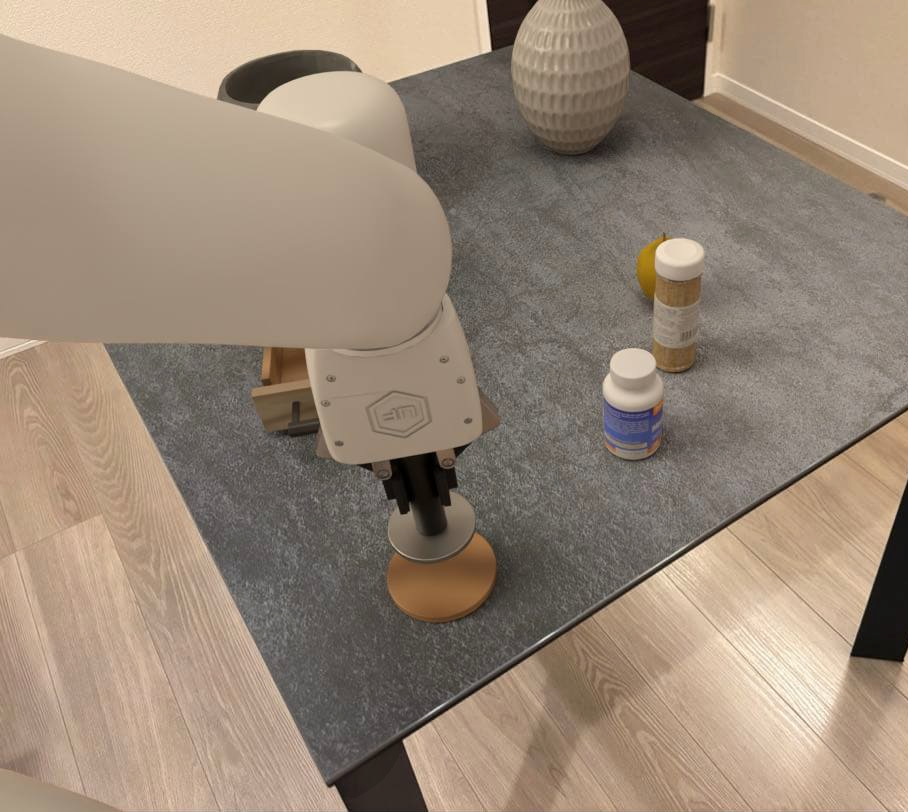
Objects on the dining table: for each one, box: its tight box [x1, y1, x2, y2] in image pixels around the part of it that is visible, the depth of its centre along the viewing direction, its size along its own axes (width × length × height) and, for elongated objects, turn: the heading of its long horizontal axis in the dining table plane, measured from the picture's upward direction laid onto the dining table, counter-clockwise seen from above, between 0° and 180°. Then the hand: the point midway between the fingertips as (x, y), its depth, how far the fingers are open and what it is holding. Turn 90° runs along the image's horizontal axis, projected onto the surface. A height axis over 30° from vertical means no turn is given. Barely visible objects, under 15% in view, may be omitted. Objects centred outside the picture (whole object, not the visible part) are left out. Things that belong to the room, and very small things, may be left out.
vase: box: [510, 0, 631, 156], centre depth 112 cm, size 16×16×22 cm
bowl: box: [216, 49, 364, 111], centre depth 112 cm, size 21×21×15 cm
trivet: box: [386, 531, 498, 624], centre depth 68 cm, size 9×9×1 cm
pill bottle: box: [602, 347, 665, 461], centre depth 74 cm, size 5×5×10 cm
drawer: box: [251, 346, 322, 439], centre depth 82 cm, size 18×12×5 cm
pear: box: [636, 231, 674, 302], centre depth 90 cm, size 6×6×8 cm
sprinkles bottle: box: [651, 237, 706, 373], centre depth 81 cm, size 5×5×14 cm
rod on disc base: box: [387, 452, 477, 564], centre depth 61 cm, size 7×7×10 cm
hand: (424, 494), depth 61 cm, fingers closed on rod on disc base, 2 cm apart
